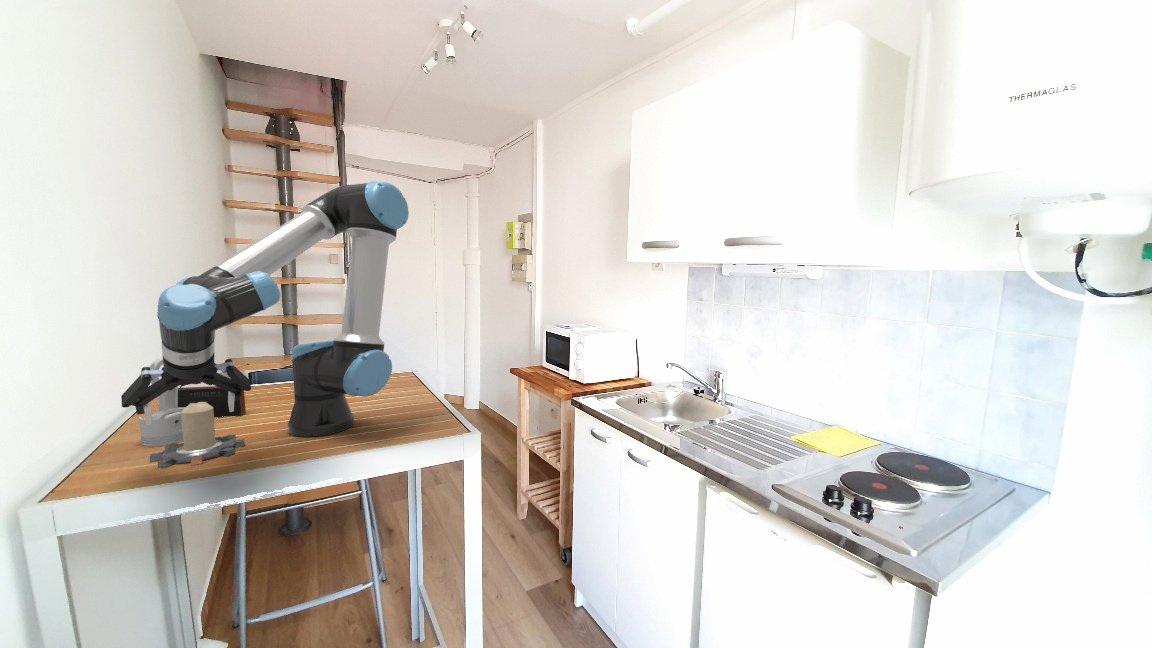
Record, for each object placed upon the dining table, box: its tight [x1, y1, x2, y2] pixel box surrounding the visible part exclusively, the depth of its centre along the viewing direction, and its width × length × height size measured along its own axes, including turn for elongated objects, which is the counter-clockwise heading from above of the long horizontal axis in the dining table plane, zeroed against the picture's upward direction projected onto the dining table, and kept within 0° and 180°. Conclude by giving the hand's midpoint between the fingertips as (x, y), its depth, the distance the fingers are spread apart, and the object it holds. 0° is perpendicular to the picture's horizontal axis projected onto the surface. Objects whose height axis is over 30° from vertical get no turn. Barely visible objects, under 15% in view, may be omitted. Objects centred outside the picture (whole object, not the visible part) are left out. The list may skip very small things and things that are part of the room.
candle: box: [181, 402, 216, 450], centre depth 101 cm, size 6×6×10 cm
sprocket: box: [149, 434, 246, 468], centre depth 101 cm, size 16×16×1 cm
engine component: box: [138, 355, 186, 447], centre depth 109 cm, size 11×20×10 cm
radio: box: [178, 363, 250, 418], centre depth 126 cm, size 19×3×15 cm, turn 103°
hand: (191, 412), depth 97 cm, fingers open, 13 cm apart
